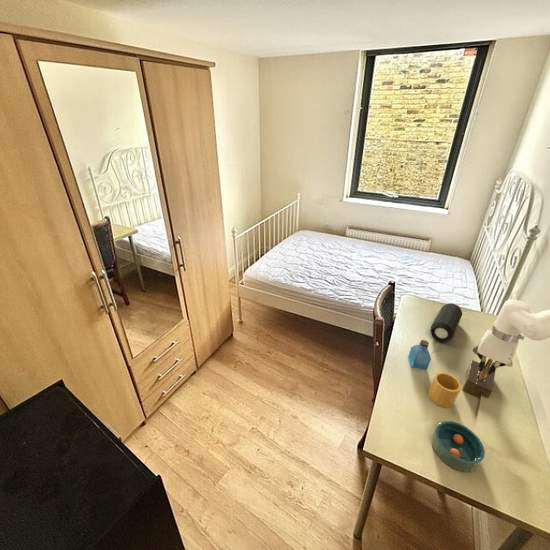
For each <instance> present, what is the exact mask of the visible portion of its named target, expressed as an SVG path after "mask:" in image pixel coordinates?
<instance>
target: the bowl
mask: <svg viewBox="0 0 550 550" xmlns="http://www.w3.org/2000/svg"><path fill="white" fill-rule="evenodd" d="M455 434H459V435H461V436H462V437H463V440H464V441H463V443H462V444H460V445H459V444H456V443H455V442H454V441H453V436H454V435H455ZM431 444H432V447H433V450H434V452H435V453H436V455H437V456H438V457H439V459H441V461H443V462H444V463H445V464H446V465H448V466H449V467H451V468H452V469H455V470H456V471H457V470H458V471H459V472H467V473H470V472H473V471H476V470H477V469H478V468H479V467H480V465H481V464H482V462H483V460H484V459H485V455H486V454H485V453H486V451H485V447H484V444H483V443H482V441H481V439H480V438H479V437H478V435H476V433H475V432H473V431H472V430H471V429H469V427H467V426H465V425H463V424H462V423H459V422H456V421H452V420H444V421H441V422H439V423H438V424H437V425H436V427H435V429H434V431H433V433H432V436H431ZM452 448H455V449H457V450H458V451H459V452H460V458H458V457H456V456H454V455H453V454H451V453H450V452H449V450H450V449H452Z"/></svg>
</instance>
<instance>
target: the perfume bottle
mask: <svg viewBox="0 0 550 550" xmlns="http://www.w3.org/2000/svg"><path fill="white" fill-rule="evenodd" d="M429 345H430V343H429V341H427V340H425V339H421V340H420V342H419V344H415V345H413V346H411V347H410V351H409V353H408V356H407V358H409V359H408V362H409V365H410V367H411V366H412V367H411V369H417V368H418V370H426V369H427V370H428V369H429V366H430V363H431V361H432V360H431V359H432V358H431V354H430V352H429Z"/></svg>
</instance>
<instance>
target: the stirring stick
mask: <svg viewBox="0 0 550 550" xmlns="http://www.w3.org/2000/svg"><path fill="white" fill-rule="evenodd" d="M493 362H494V361H493V359H491V358H488V359H487V360H486V363H485V367H484V369H483V371H482V372H481V374H480V376H479V378H478V380H481V381H483V379H484V377H485V375H486V373H487V371H488V369H489V367H490V366H491V364H492V363H493Z"/></svg>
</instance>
